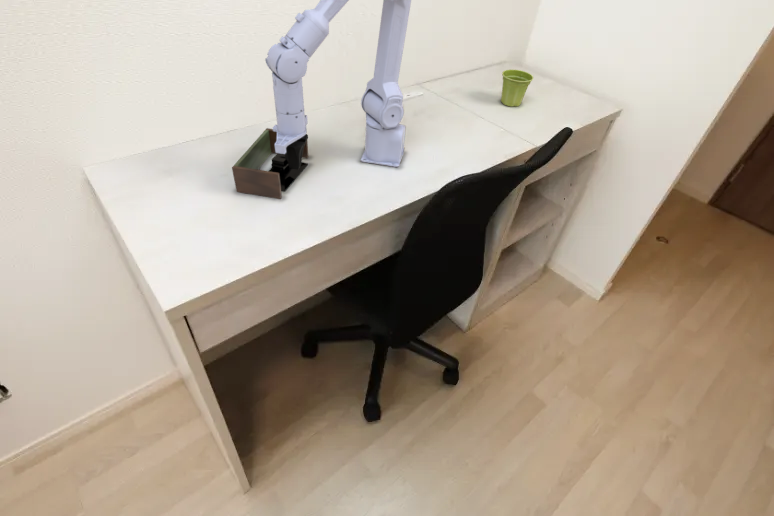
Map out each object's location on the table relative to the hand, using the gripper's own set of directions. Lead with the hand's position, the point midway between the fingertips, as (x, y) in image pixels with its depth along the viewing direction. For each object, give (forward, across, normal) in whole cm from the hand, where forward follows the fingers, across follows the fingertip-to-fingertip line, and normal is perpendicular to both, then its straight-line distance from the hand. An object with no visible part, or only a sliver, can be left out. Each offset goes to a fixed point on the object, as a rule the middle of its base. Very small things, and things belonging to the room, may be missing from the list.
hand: (295, 167), depth 99 cm
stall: (+2, 0, -5) cm, 6 cm away
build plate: (+3, 0, -3) cm, 4 cm away
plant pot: (+3, -59, +50) cm, 77 cm away
